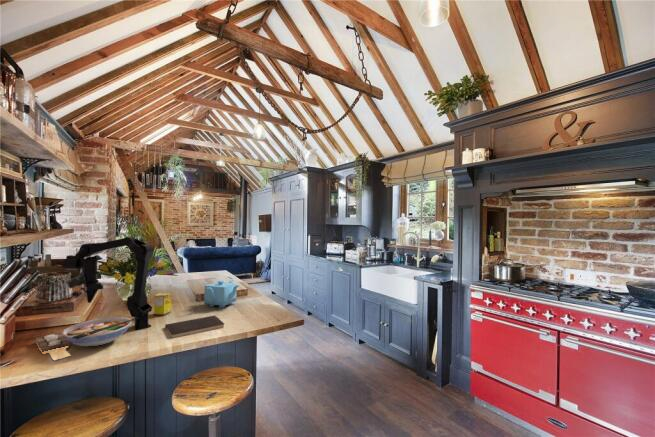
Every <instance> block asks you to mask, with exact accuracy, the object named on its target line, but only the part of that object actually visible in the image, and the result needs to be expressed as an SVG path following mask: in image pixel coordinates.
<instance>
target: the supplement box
mask: <svg viewBox="0 0 655 437" xmlns="http://www.w3.org/2000/svg"><path fill="white" fill-rule="evenodd" d="M171 311H172V293H171V292H159V293H157V294H154V296H153V315H154V316H159V315H160V316H162V317H163V316H166V315H168V314H169V315H170V313H171ZM160 316H159V317H160Z"/></svg>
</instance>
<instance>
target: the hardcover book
mask: <svg viewBox="0 0 655 437" xmlns="http://www.w3.org/2000/svg"><path fill="white" fill-rule="evenodd" d="M224 327H225V323H224V322H223V321H222V320H221V319H220V318H219V317H218V316H216V315H210V316H205V317H199V318H193V319H189V320H188V319H187V320H182V321H178V322H177V321H176V322H171V323H166V324H165V325H164V329H166V330H167V332H168V334H169V335H170V338H172V339H175V338H178V337H179V338H180V337H183V336H188V335H191V334H198V333H202V332H208V331H211V330H217V329H220V328H224Z"/></svg>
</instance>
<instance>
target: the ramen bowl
mask: <svg viewBox="0 0 655 437" xmlns="http://www.w3.org/2000/svg"><path fill="white" fill-rule="evenodd" d="M135 319H136V318H135V317H134V318H129V317H122V316H113V317H111V316H110V317H101V318H95V319H91V320H86V321H82V322H80V323H77V324H73V325H70V326H69V327H67V328H64V329H63V332H62V334H63V335H64V336H65V337H66V338H67V340H68V341H69V342H70V343H72V344H73V345H76V346H79V347H88V346H98V345H102V346H104V345H103V344H105V345H107V344H109V343H110V342H113V341H115V340H118V339H119V338H120V337H121V336H123V335H124V334H125V333H126V331H127V330H128V329H129V327H130V326H131V324H132V322H133V321H134V320H135ZM137 319H138V318H137ZM106 343H107V344H106ZM98 347H99V346H98Z"/></svg>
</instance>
